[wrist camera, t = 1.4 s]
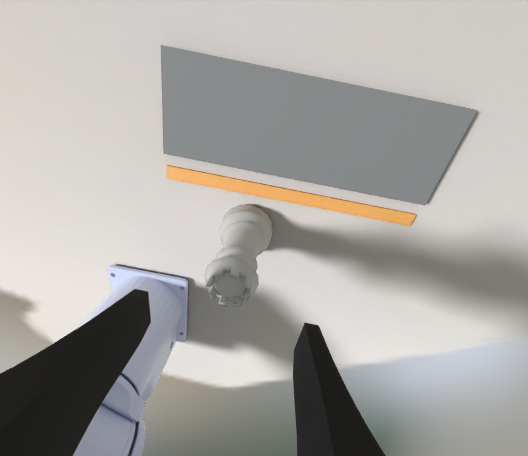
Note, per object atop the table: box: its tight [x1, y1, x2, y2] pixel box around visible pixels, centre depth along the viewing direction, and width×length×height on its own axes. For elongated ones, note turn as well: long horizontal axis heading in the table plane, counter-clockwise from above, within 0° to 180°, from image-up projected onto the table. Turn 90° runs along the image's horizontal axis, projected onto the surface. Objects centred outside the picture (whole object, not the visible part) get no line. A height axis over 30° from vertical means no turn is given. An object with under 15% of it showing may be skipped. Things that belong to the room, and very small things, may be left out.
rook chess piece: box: [205, 205, 273, 307], centre depth 16 cm, size 4×4×8 cm
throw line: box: [166, 165, 416, 226], centre depth 18 cm, size 1×20×1 cm, turn 80°
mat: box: [161, 45, 477, 205], centre depth 16 cm, size 6×20×1 cm, turn 80°
